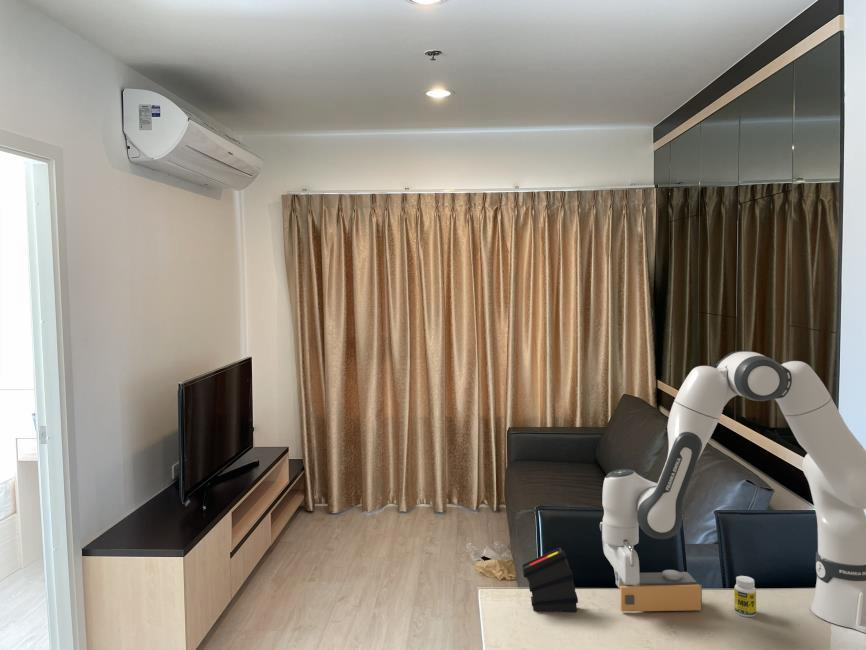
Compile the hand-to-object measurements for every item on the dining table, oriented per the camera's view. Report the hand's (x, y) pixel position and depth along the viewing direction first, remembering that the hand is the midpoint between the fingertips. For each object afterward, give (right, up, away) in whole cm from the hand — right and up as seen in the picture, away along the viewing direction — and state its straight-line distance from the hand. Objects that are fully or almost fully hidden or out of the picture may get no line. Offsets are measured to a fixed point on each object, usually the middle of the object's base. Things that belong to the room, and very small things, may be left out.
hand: (620, 587), depth 165 cm
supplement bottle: (+28, -3, -7) cm, 29 cm away
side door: (+8, -3, -7) cm, 11 cm away
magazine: (-19, -4, -3) cm, 19 cm away
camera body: (+10, -3, -2) cm, 11 cm away
